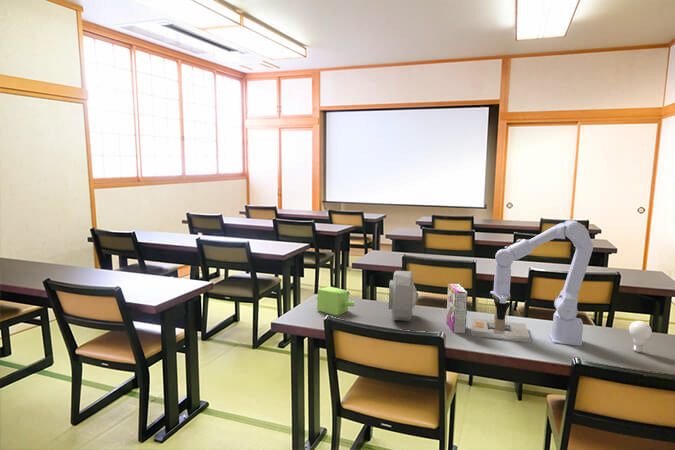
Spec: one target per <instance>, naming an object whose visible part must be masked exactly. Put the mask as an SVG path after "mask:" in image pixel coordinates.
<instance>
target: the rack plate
mask: <svg viewBox="0 0 675 450" xmlns="http://www.w3.org/2000/svg"><path fill="white" fill-rule="evenodd" d="M470 326H471V327H470V329H471V336H472V337H480V338H488V339H496V340H504V341H513V342H514V341H515V342H523V343H530V342H531V336H530V334H529V332H528V328H527V326H526V324H525V323H521V322H520V323H519V322H512V321H511V322H510V321H505V326H504V330H503V331H498V330H494V329H495V327H494V319H485V318H473V317H471V318H470ZM507 330H508V331H507Z"/></svg>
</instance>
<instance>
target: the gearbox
mask: <svg viewBox="0 0 675 450" xmlns="http://www.w3.org/2000/svg"><path fill="white" fill-rule="evenodd" d="M349 295H350V293H349V290H346V289H342V288H338V287H333V286H326V287H322V288H319V289H318V291H317V295H316V300H317V304H316V305H317V307H316V310H317V311H319V312H322V313H325V314H330V315H333V316H340V315H342V314H344V313H346V312H348V309H349V307H355V301H353V300H352V301H351V300H349V297H350V296H349Z"/></svg>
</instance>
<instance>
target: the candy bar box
mask: <svg viewBox="0 0 675 450" xmlns="http://www.w3.org/2000/svg"><path fill="white" fill-rule="evenodd" d="M446 299H447V303H446V322H445V323H446V324H447V326H448V327H449V329H450V330H451V332H453V334H466V330H467V316H468V315H467V313H468V312H467V311H468V291H467V290H466V289H465V288H464V287H463V286H462V285H461V284H460V283H447V298H446Z"/></svg>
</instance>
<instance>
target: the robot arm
mask: <svg viewBox="0 0 675 450" xmlns="http://www.w3.org/2000/svg"><path fill="white" fill-rule="evenodd" d="M566 238H568V239H569V241H571V242H572V245H574V247H575V252H574V254H573V257H572V261H571V263H570V267H569V269H568V272H567V275H566V279H565V281H564V285H563V288H562V290H560V292H559V295H558V296H557V297H556V298H555V300H554V301H553V306H554V308H555V312H554V313H553V319H552V330H551V333H548V336H549V338H550V340H551V342H552V343H554V344H563V345H570V346H572V345H573V346H579V347H581V346H582V345H583V344H582V340H583V330H584V323H583V320H582V318H579V317H577V315H578V303H579V294H580V289H581V287H582V285H583V284H582V283H583V281H584V278H585V275H586V271H587V268H588V266H589V263H590V259H591V256H592V252H593V250H594V244H593V241H592V239H591V236H590V231H589V230H588V229H587V228H586V226H584V225H583V224H582V223H580V222H578V221H577V220H576V219H567V220H566V221H564V222H560V223H557V224H555V225H553V226H552V227H550V228H548V229H546V230H545V231H543V232H541V233H540V234H537V235H536V236H534V237H532V238H530V239H525V238H523V239H520V238H519V239H517V240H516V242H515V243H512V244H510V245H509V246H508V245H506V246H504V248H501V249H499V250H497V252H496V253H495V255H494V257H495V261H496V262H495V268H494V278H493V290H491V291H490V292H489V293H490V295H492V294H493V295H495V296H496V297H498V298H499V299H500V301H498V300H496V299H495V298H493V303H494V305H495V308H496V309H497V318H498V319H499V320H504V318H505V319H506V314H507V311H508V309H509V308H510V307H511V306H510V305H511V302H510V301H509V302H508V301H507V300H506V299H507V298H508V297H509V296H510V295H511V291H510V290H511V278H512V269H511V268H512V264H513V263H514V262H515V261H517V260H520V259H521V258H523V257H527V256H528V255H531V254H532V253H533V250H534V248H536V247H539V246H541V245H543V244H545V243H548V242H550V241H551V240H554V239H558V240H559V239H560V240H566Z"/></svg>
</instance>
